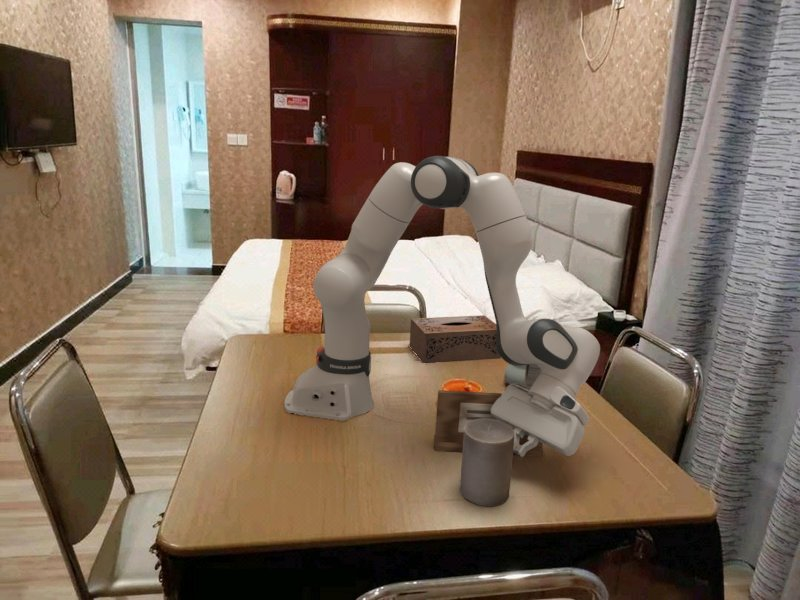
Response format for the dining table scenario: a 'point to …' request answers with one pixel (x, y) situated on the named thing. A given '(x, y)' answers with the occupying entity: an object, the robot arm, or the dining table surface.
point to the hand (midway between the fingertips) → (515, 453)
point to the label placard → (465, 419)
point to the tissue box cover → (453, 338)
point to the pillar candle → (486, 461)
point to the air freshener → (515, 374)
